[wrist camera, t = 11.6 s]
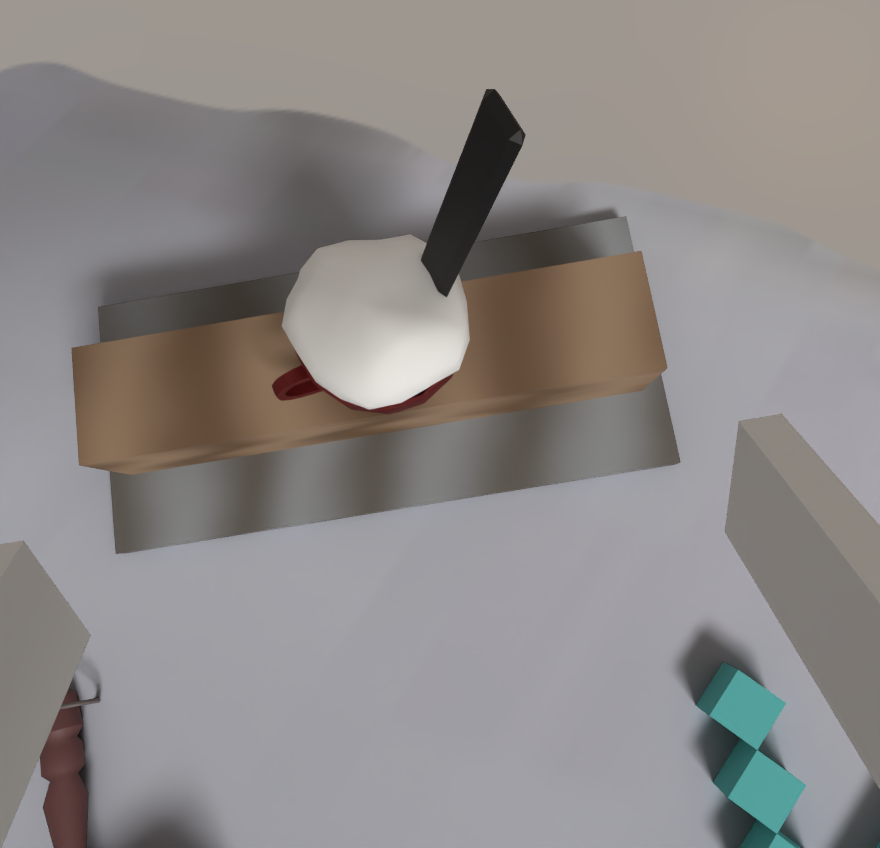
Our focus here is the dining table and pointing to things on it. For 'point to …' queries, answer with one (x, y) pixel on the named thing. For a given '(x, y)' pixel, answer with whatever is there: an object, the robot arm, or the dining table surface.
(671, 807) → the dining table surface
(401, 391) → the cocoa
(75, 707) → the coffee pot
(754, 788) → the alien figure
